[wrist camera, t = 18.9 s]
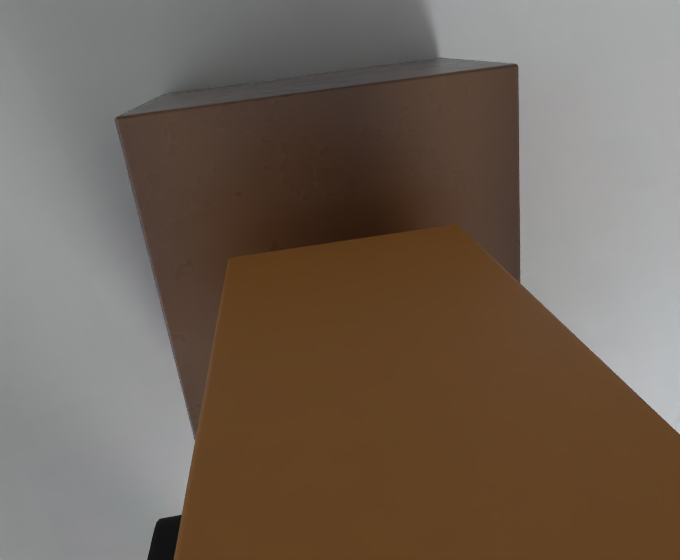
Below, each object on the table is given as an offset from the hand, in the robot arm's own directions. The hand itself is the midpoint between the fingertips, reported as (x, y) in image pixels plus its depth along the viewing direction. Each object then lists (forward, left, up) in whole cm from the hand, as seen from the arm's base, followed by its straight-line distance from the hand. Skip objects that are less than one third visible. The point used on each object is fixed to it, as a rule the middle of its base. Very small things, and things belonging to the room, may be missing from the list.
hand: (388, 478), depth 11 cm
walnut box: (0, 0, -12) cm, 12 cm away
